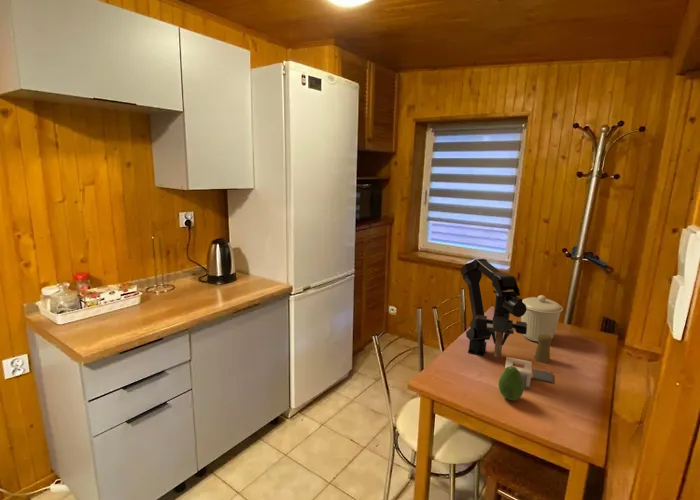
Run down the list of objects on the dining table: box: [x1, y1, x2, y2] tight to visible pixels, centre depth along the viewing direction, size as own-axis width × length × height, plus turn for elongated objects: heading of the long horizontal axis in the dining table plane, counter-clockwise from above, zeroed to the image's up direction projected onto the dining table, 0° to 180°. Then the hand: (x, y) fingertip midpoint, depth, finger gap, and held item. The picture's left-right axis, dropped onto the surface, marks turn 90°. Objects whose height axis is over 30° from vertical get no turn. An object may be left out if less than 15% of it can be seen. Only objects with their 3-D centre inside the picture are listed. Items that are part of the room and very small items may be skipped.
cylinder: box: [493, 331, 504, 359], centre depth 153 cm, size 3×3×11 cm
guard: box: [504, 356, 533, 390], centre depth 148 cm, size 9×9×6 cm
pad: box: [532, 368, 554, 384], centre depth 151 cm, size 7×7×1 cm
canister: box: [520, 294, 564, 343], centre depth 182 cm, size 18×18×21 cm
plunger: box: [513, 364, 524, 375], centre depth 148 cm, size 3×3×2 cm
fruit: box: [498, 365, 525, 401], centre depth 136 cm, size 8×8×12 cm
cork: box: [533, 334, 553, 364], centre depth 163 cm, size 6×6×11 cm
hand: (498, 344), depth 154 cm, fingers closed on cylinder, 3 cm apart
